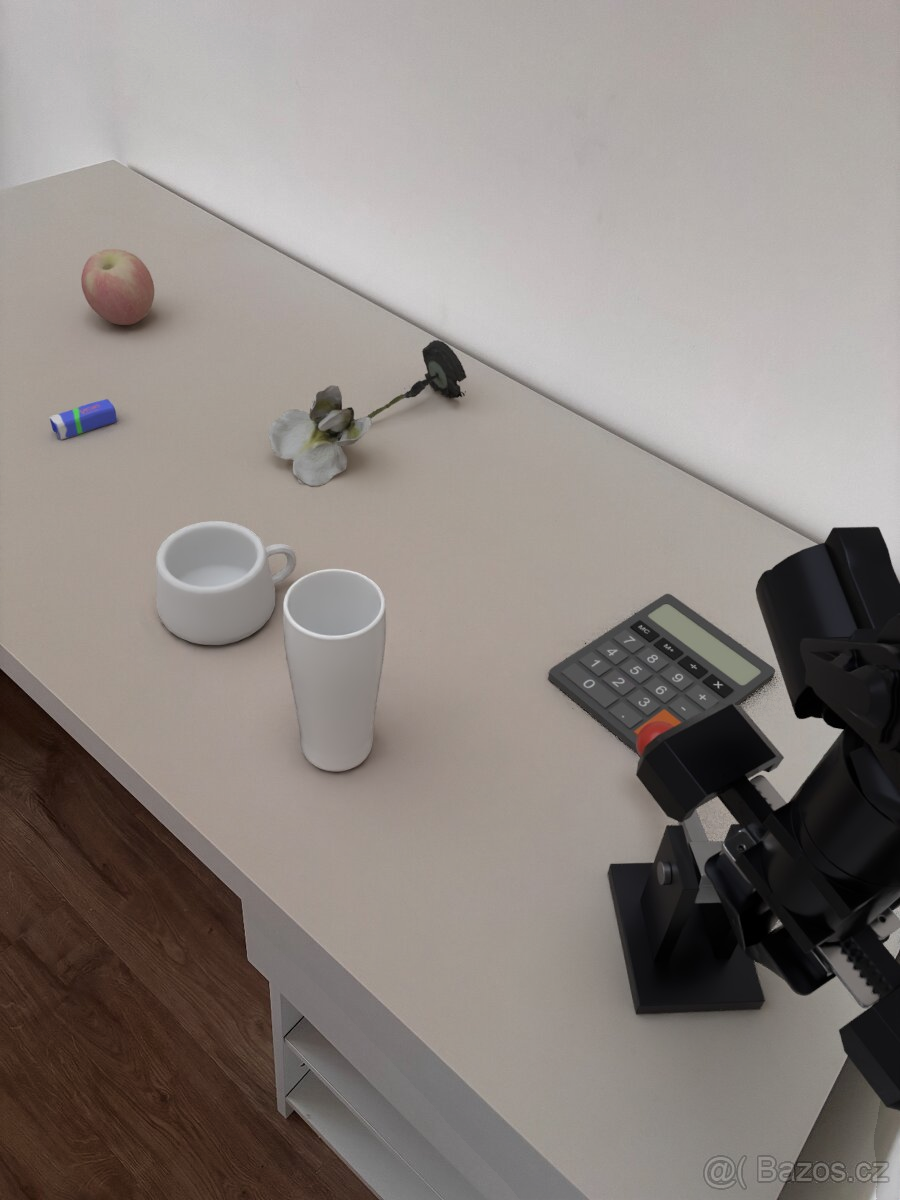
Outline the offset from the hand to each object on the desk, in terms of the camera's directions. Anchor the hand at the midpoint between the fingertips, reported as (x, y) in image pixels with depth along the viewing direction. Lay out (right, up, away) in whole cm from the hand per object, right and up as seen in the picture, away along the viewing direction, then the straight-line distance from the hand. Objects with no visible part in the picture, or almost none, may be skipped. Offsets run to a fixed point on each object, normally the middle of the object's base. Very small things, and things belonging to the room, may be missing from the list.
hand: (751, 947), depth 55 cm
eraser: (-52, +35, +50) cm, 81 cm away
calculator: (+1, +12, +31) cm, 33 cm away
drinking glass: (-24, +7, +24) cm, 35 cm away
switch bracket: (-1, -4, +14) cm, 15 cm away
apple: (-53, +50, +66) cm, 98 cm away
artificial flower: (-23, +35, +53) cm, 67 cm away
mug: (-34, +18, +34) cm, 51 cm away
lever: (-1, +4, +14) cm, 15 cm away
